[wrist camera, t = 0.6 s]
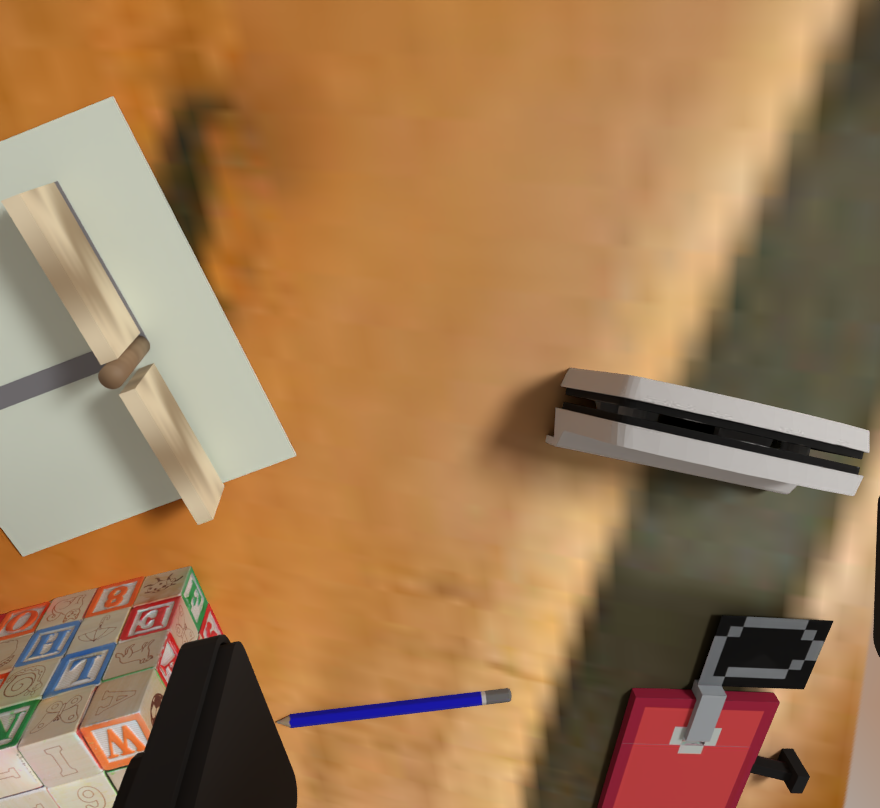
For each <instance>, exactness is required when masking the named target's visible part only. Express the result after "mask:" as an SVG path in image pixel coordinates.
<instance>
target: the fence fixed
mask: <svg viewBox="0 0 880 808" xmlns="http://www.w3.org/2000/svg"><path fill="white" fill-rule="evenodd" d="M1 202H2V203H3V205H4V207H5V208H6V210H7V212H8V213H9V215H10V217H11V218H12V220H13V222H14V223H15V225H16V227H17V228H18V230H19V231H20V233H21V235H22V236H23V238H24V240H25V241H26V243H27V245H28V246H29V248H30V250H31V251H32V253H33V254H34V256H35V258H36V259H37V261H38V263H39V264H40V266H41V268H42V269H43V271H44V273H45V274H46V276H47V277H48V279H49V281H50V282H51V284H52V286H53V287H54V289H55V291H56V292H57V294H58V296H59V297H60V299H61V300H62V302H63V304H64V305H65V307H66V309H67V310H68V312H69V314H70V315H71V317H72V319H73V320H74V322H75V323H76V325H77V327H78V328H79V330H80V332H81V333H82V335H83V337H84V338H85V340H86V342H87V343H88V345H89V347H90V348H91V350H92V351H93V353H94V355H95V356H96V358H97V360H98V361H99V363H100V365H103V364H105V363H106V364H105V365H104V367H103V368H102V369H101V370H100V371H99V374H98V379H99V381H100V383H101V384H102V385H103V386H104V387H106V388H108V389H117V388H119V387H121V386H122V385H123V383H124V382H125V381H126V379H127V378H128V377H129V376H130V374H131V373H132V372H133V371H134V369H135V368H136V367H137V366H138V364H139V363H140V362H141V360H142V359H143V358H144V357H145V355H146V354H147V353H148V352H149V350H150V343H149V342H148V340H147V339H146V338H144V337H143V336H140V335H139V334H140V331H139V330H138V328H137V326H136V324H135V323H134V321H133V319H132V317H131V316H130V314H129V312H128V310H127V309H126V307H125V305H124V303H123V302H122V300H121V298H120V296H119V295H118V293H117V291H116V289H115V288H114V286H113V284H112V282H111V281H110V279H109V277H108V275H107V274H106V272H105V270H104V268H103V267H102V265H101V263H100V261H99V260H98V258H97V256H96V254H95V253H94V251H93V249H92V247H91V246H90V244H89V242H88V240H87V239H86V237H85V235H84V233H83V232H82V230H81V228H80V226H79V225H78V223H77V221H76V219H75V218H74V216H73V214H72V212H71V211H70V209H69V207H68V205H67V204H66V202H65V200H64V198H63V197H62V195H61V193H60V191H59V190H58V188H57V186H56V184H55V183H54V182H53V183H50V184H47V185H44V186H41V187H38V188H35V189H32V190H29V191H26V192H23V193H20V194H17V195H15V196H12V197H10V198H7V199H5V200H2V201H1Z"/></svg>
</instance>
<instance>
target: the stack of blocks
mask: <svg viewBox="0 0 880 808" xmlns="http://www.w3.org/2000/svg"><path fill="white" fill-rule="evenodd" d="M221 634H222V635H224V634H223V632H222V630H221V628H220V626H219V624H218V622H217V619H216V617H215V615H214V613H213V611H212V609H211V607H210V604H209V603H208V602H207V600H206V598H205V595H204V593H203V591H202V589H201V587H200V585H199V582H198V580H197V578H196V576H195V574H194V571H193V569H192V567H191V566H188V567H184V568H180V569H176V570H172V571H168V572H164V573H160V574H156V575H152V576H148V577H139V578H135V579H131V580H127V581H123V582H119V583H115V584H111V585H107V586H103V587H100V588H95V589H91V590H86V591H82V592H78V593H74V594H70V595H66V596H63V597H58V598H55V599H53V600H52V601H50V602H44V603H42V604H38V605H35V606H30V607H26V608H22V609H18V610H14V611H10V612H8V613H7V614H2V615H0V808H112V807H113V804H114V801H115V798H116V796H117V793H118V790H119V787H120V785H121V782H122V779H123V777H124V774H125V771H126V769H127V767H128V765H129V763H130V761H131V759H132V758H133V757H134V756H135V755H136V754H137V753H140V752H144V750H145V747H146V744H147V741H148V738H149V735H150V732H151V730H152V727H153V724H154V721H155V718H156V715H157V712H158V710H159V707H160V704H161V701H162V698H163V695H164V692H165V690H166V687H167V684H168V681H169V678H170V675H171V672H172V669H173V667H174V664H175V661H176V658H177V655H178V652H179V650H180V648H181V646H182V645H183V644H184V643H186V642H191V641H195V640H199V639H204V638H208V637H212V636H217V635H221Z"/></svg>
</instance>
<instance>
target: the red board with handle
mask: <svg viewBox="0 0 880 808" xmlns="http://www.w3.org/2000/svg"><path fill="white" fill-rule="evenodd" d="M832 623H833V621H825V620H805V619H784V618H764V617H744V616H723V615H722V617H721V620H720V623H719V626H718V629H717V632H716V634H715V637H714V640H713V643H712V646H711V649H710V651H709V654H708V657H707V660H706V663H705V666H704V668H703V671H702V674H701V677H700V680H695V681H694V684H693V687H692V689H691V690H685V689H651V688H632V691H631V694H630V697H629V701H628V704H627V708H626V711H625V714H624V718H623V721H622V725H621V728H620V731H619V735H618V738H617V742H616V745H615V748H614V752H613V755H612V759H611V762H610V765H609V769H608V772H607V776H606V779H605V783H604V786H603V789H602V793H601V796H600V800H599V803H598V806H597V808H736V806H737V803H738V801H739V799H740V796H741V794H742V792H743V789H744V787H745V784H746V782H747V780H748V777H749V775H750V773H754V774H758V775H763V776H767V777H771V778H775V779H779V780H783V781H784V782H785V784H786V785H787V787H788V789H789V791H790V793H802V792H803V790H804V788H805V786H806V784H807V782H808V780H809V777H810V776H809V774H808V773H807V771H806V769H805V768H804V766H803V765H802V763H801V761H800V760H799V758H798V756H797V755H796V753H795V751H794V750H793V749H782V750H781V753H780V755H779V758H778V760H773V759H768V758H764V757H760V756H758V753H759V751H760V749H761V746H762V744H763V741H764V739H765V737H766V734H767V732H768V729H769V727H770V725H771V722H772V720H773V718H774V715H775V713H776V710H777V708H778V706H779V703H780V702H779V700H778V699H777V697H776V696H775V694H774V693H766V692H739V691H724V690H723V688H722V686H732V687H758V688H785V689H804V688H805V686H806V683H807V681H808V679H809V676H810V674H811V672H812V669H813V667H814V665H815V662H816V660H817V658H818V655H819V653H820V651H821V649H822V646H823V644H824V642H825V639H826V637H827V635H828V632H829V630H830V628H831V625H832Z"/></svg>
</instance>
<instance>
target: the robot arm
mask: <svg viewBox="0 0 880 808" xmlns="http://www.w3.org/2000/svg"><path fill="white" fill-rule="evenodd" d="M873 632H874V633H873V638H874V644H875V648H876V651H877V653H878V655H879V657H880V497H879V499H878V511H877V541H876V571H875V601H874V631H873ZM296 807H297V785H296V779H295V775H294V772H293V769H292V766H291V764H290V761H289V759H288V756H287V754H286V751H285V749H284V746H283V744H282V741H281V739H280V736H279V734H278V731H277V729H276V726H275V724H274V721H273V719H272V716H271V714H270V711H269V709H268V706H267V704H266V701H265V699H264V696H263V694H262V691H261V689H260V686H259V684H258V681H257V679H256V676H255V674H254V671H253V668H252V666H251V663H250V661H249V658H248V656H247V653H246V651H245V649H244V647H243V645H242V643H241V642H239V641H237V642H233V643H230V641H229V639H228V638H227V637H226V636H225V635H222V634H221V635H217V636H212V637H208V638H204V639H199V640H195V641H191V642H186V643H184V644H183V645H182V646H181V648H180V650H179V652H178V655H177V658H176V661H175V664H174V667H173V669H172V672H171V675H170V678H169V681H168V684H167V687H166V690H165V692H164V695H163V698H162V701H161V704H160V707H159V710H158V712H157V715H156V718H155V721H154V724H153V727H152V730H151V732H150V735H149V738H148V741H147V744H146V747H145V750H144V752H140V753H137V754H136V755H135V756H134V757H133V758H132V759H131V761H130V763H129V765H128V767H127V769H126V771H125V774H124V777H123V779H122V782H121V785H120V787H119V790H118V793H117V796H116V798H115V801H114V804H113V807H112V808H296Z"/></svg>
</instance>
